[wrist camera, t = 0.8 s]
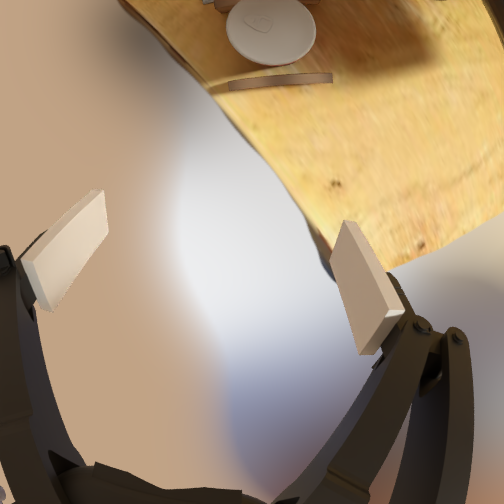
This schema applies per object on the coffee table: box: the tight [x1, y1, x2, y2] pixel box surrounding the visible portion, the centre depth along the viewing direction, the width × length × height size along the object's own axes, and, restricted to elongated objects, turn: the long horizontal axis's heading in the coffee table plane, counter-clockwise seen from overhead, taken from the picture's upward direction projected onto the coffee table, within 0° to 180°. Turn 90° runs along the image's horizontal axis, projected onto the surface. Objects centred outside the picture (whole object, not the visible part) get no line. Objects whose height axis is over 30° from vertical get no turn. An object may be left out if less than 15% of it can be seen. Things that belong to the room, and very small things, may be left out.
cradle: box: [213, 0, 333, 91], centre depth 25 cm, size 12×12×4 cm
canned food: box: [226, 0, 316, 67], centre depth 22 cm, size 8×8×11 cm
